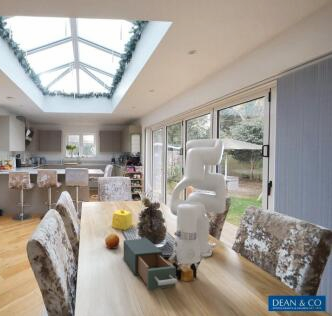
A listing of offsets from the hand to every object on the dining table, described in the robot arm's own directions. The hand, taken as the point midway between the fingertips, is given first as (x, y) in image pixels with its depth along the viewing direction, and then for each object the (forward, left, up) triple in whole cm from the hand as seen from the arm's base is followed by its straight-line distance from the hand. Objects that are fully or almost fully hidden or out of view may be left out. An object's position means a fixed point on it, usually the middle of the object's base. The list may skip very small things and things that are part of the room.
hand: (185, 276), depth 86 cm
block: (0, 0, -1) cm, 1 cm away
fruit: (+22, -34, -1) cm, 41 cm away
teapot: (+6, -64, -1) cm, 64 cm away
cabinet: (+14, -13, -1) cm, 19 cm away
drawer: (+14, +1, 0) cm, 14 cm away
